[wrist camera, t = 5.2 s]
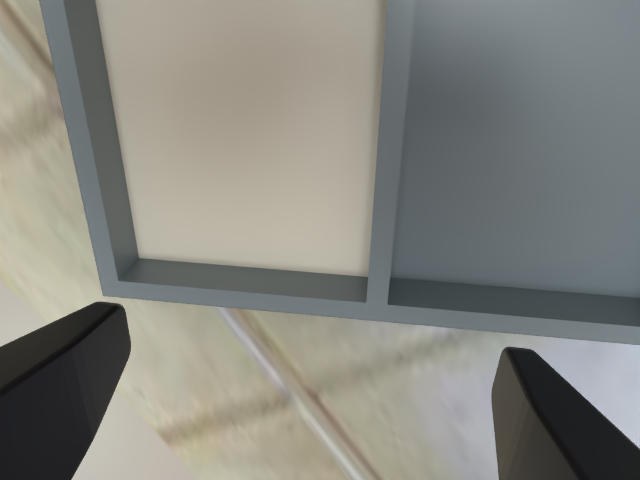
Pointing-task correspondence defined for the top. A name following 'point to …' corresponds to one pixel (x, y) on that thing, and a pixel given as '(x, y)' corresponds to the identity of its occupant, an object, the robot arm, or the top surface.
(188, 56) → the gray divided tray
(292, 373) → the top surface
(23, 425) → the robot arm
